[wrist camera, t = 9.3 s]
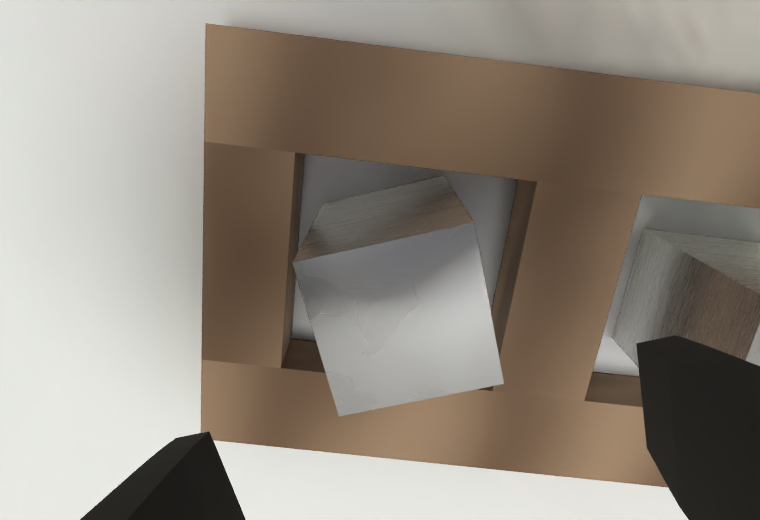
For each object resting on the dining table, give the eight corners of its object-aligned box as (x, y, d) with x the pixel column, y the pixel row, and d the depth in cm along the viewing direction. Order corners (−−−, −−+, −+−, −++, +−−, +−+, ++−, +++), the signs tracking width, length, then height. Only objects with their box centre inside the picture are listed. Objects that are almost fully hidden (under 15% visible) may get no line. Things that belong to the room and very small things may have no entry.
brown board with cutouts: (937, 120, 16) (1011, 125, 14) (786, 464, 20) (827, 503, 18) (227, 30, 16) (205, 23, 14) (218, 404, 20) (200, 438, 18)
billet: (761, 242, 18) (943, 319, 12) (722, 350, 19) (869, 466, 13) (643, 228, 17) (768, 299, 12) (611, 337, 19) (711, 449, 13)
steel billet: (444, 175, 17) (474, 222, 11) (466, 289, 18) (503, 383, 12) (322, 203, 17) (292, 263, 12) (352, 313, 18) (339, 416, 13)
